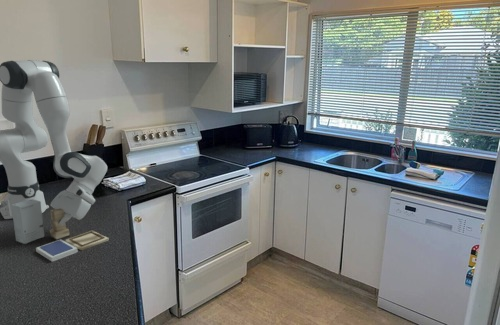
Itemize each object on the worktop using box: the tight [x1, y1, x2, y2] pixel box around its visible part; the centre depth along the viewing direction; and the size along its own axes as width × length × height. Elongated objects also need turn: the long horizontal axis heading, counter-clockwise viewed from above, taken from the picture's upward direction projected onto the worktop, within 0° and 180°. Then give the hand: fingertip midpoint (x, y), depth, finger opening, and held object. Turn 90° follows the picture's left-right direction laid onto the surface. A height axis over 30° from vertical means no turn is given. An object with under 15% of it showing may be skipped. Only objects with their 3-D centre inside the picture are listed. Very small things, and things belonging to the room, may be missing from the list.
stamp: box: [49, 208, 71, 241], centre depth 145 cm, size 5×5×11 cm
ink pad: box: [35, 239, 79, 262], centre depth 133 cm, size 12×9×2 cm
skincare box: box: [11, 199, 45, 245], centre depth 142 cm, size 8×6×15 cm
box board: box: [64, 230, 110, 251], centre depth 142 cm, size 12×11×1 cm
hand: (56, 223), depth 144 cm, fingers closed on stamp, 3 cm apart
